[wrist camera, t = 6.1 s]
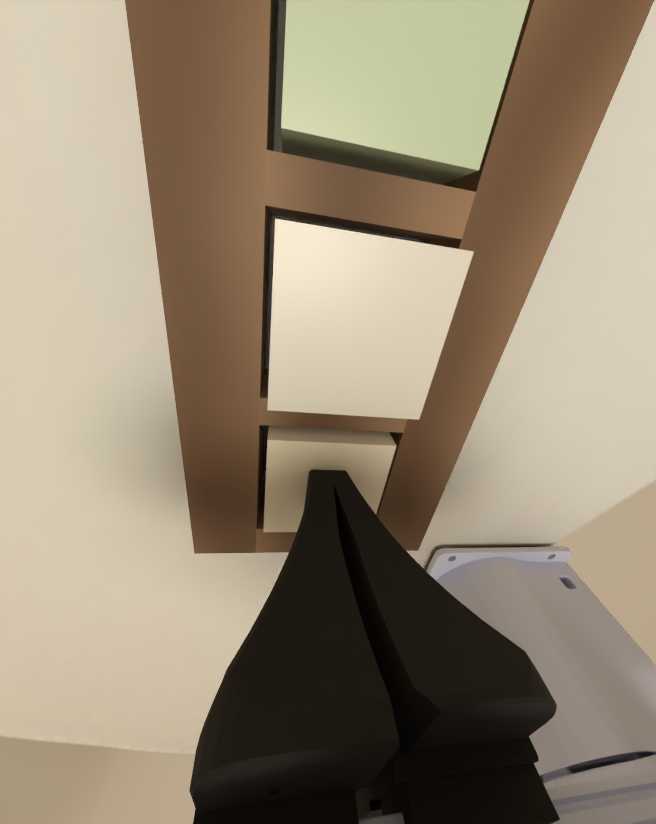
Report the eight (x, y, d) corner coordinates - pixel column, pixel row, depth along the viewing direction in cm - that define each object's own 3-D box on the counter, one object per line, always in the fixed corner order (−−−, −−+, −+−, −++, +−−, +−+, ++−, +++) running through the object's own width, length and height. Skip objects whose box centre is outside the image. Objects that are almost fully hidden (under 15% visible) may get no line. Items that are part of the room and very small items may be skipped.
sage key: (490, -50, 7) (585, -190, 5) (432, 188, 9) (479, 170, 7) (296, -118, 6) (300, -320, 4) (283, 158, 8) (280, 127, 6)
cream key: (377, 410, 12) (396, 446, 10) (358, 489, 15) (370, 532, 12) (271, 403, 12) (267, 439, 10) (267, 487, 14) (263, 532, 12)
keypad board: (622, -124, 7) (783, -301, 5) (401, 509, 16) (418, 550, 14) (141, -330, 5) (29, -760, 3) (208, 507, 15) (194, 553, 12)
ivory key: (428, 249, 9) (474, 251, 7) (393, 385, 11) (419, 419, 9) (279, 225, 8) (275, 218, 6) (272, 375, 10) (267, 410, 8)
